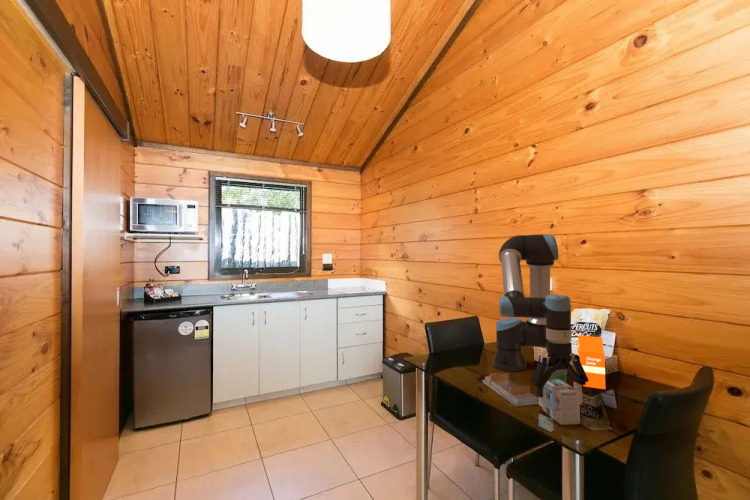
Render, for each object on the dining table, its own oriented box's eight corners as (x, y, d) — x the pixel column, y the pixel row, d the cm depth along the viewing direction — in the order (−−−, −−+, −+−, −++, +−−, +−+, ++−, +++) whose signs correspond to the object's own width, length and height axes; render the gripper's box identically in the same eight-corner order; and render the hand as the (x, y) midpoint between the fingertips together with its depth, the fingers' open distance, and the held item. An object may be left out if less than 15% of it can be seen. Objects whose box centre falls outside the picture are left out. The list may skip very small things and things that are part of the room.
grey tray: (503, 380, 145) (503, 368, 145) (540, 403, 121) (540, 390, 122) (482, 382, 143) (482, 370, 143) (516, 406, 120) (515, 392, 120)
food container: (556, 395, 129) (556, 369, 129) (542, 389, 134) (541, 365, 134) (576, 389, 134) (575, 364, 135) (561, 384, 140) (560, 360, 140)
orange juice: (578, 379, 145) (576, 333, 145) (602, 382, 141) (601, 335, 141) (580, 385, 138) (578, 337, 138) (605, 389, 134) (604, 339, 134)
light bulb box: (541, 410, 117) (541, 379, 117) (560, 409, 117) (559, 378, 117) (561, 425, 106) (560, 391, 106) (581, 424, 107) (580, 390, 107)
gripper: (532, 345, 106) (534, 413, 106) (599, 341, 111) (601, 406, 110) (518, 340, 114) (520, 403, 113) (581, 336, 118) (583, 397, 117)
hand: (560, 404), depth 111 cm, fingers open, 13 cm apart
